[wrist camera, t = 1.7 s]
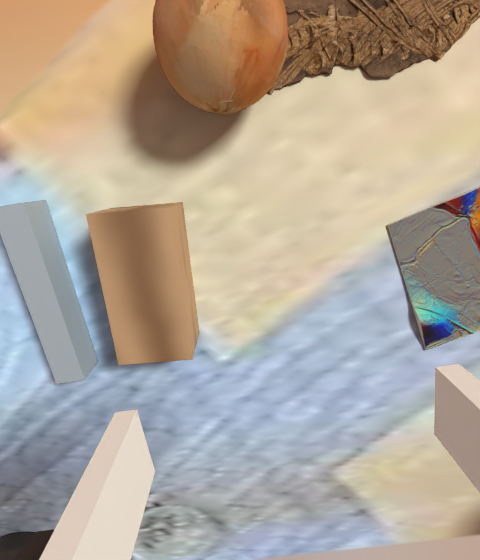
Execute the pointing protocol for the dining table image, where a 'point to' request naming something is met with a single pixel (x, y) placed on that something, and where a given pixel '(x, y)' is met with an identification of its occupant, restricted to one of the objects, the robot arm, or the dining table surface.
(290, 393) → the dining table surface
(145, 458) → the robot arm
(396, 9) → the wooden fragment
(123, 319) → the block
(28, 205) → the grey rectangular bar
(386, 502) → the dining table surface
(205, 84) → the onion
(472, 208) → the relief map
